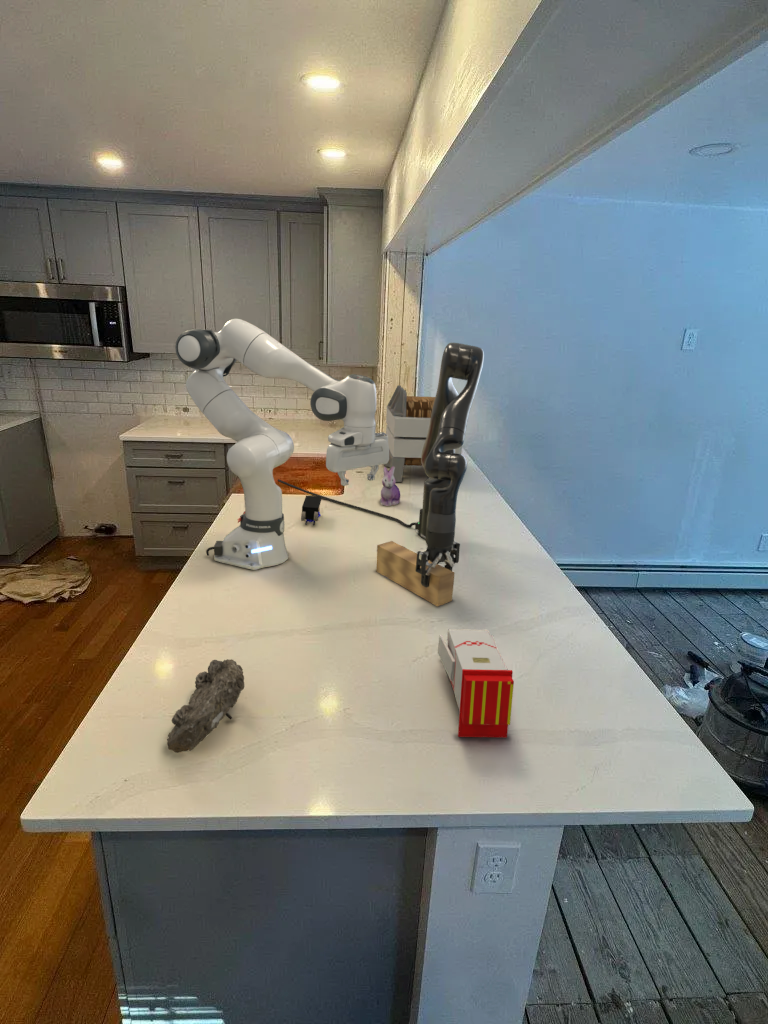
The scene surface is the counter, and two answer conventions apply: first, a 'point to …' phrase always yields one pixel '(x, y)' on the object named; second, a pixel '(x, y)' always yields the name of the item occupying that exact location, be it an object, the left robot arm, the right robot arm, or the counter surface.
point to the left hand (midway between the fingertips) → (358, 482)
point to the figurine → (389, 489)
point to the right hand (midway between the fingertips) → (436, 582)
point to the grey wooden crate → (407, 430)
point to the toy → (478, 682)
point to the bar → (414, 573)
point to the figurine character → (311, 509)
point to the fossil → (206, 705)
